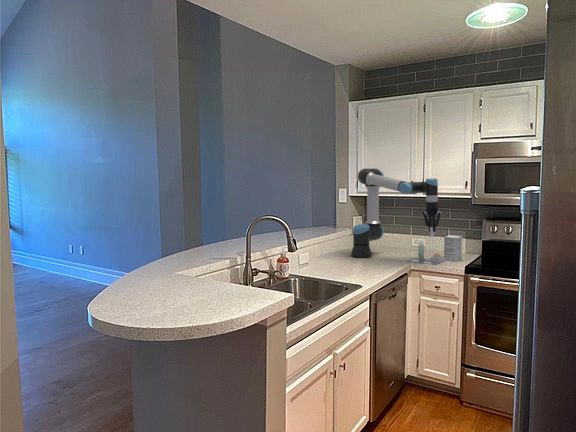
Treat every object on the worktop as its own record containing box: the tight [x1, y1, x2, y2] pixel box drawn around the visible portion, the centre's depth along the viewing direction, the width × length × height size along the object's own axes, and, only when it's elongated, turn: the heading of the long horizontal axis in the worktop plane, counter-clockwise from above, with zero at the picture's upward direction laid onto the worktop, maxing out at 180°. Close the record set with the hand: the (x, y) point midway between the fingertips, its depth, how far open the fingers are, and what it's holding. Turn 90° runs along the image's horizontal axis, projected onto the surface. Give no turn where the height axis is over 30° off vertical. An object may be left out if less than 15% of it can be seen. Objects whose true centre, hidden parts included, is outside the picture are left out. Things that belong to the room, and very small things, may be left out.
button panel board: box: [404, 255, 446, 266], centre depth 283 cm, size 22×16×4 cm
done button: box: [433, 252, 441, 257], centre depth 282 cm, size 4×4×4 cm
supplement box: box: [443, 234, 463, 262], centre depth 286 cm, size 10×9×17 cm
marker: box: [417, 242, 425, 262], centre depth 283 cm, size 4×4×12 cm
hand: (432, 236), depth 280 cm, fingers closed
